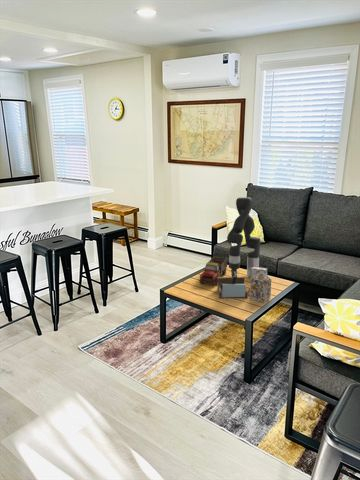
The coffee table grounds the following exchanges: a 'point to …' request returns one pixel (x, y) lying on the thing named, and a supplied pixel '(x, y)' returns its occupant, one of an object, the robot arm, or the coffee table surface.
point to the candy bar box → (258, 271)
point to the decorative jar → (260, 288)
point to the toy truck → (214, 270)
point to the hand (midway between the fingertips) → (233, 284)
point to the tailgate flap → (234, 290)
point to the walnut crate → (229, 281)
